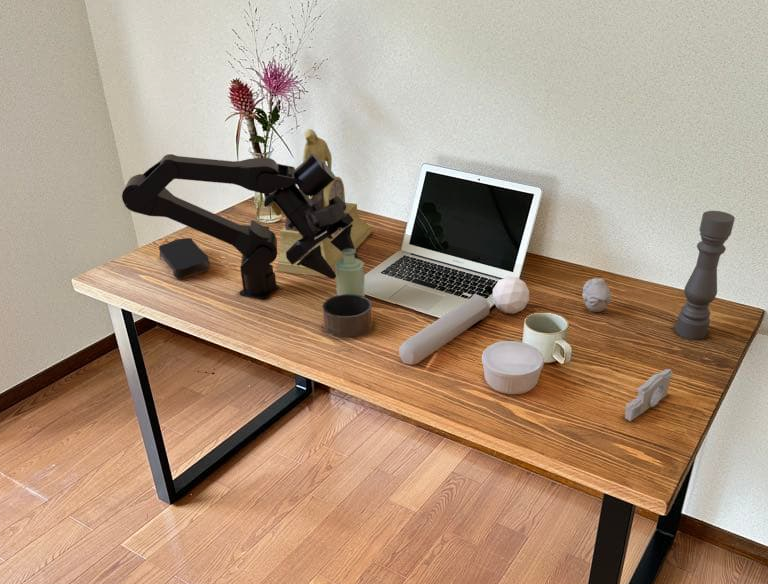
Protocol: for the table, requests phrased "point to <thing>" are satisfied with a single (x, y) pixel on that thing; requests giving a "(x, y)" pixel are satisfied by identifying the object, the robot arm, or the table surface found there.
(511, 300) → the ball
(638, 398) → the garden wall model
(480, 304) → the tube
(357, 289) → the bottle
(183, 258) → the black sponge
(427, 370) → the table surface
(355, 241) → the decorative clock
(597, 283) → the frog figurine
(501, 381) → the ramekin
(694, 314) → the candle holder
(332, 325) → the cup
